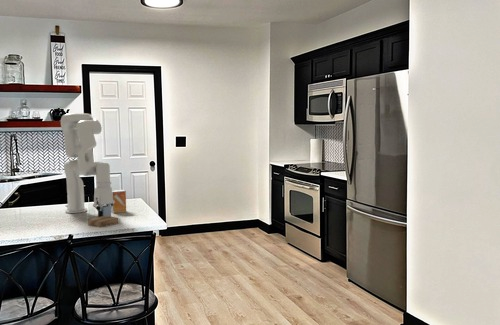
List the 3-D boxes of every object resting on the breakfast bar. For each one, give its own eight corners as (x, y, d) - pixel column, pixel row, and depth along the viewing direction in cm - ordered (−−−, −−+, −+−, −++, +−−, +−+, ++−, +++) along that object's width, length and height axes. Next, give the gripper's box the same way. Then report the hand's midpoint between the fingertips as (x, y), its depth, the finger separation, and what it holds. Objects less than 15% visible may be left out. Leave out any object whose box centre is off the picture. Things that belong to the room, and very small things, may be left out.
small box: (113, 213, 276) (112, 191, 275) (110, 211, 281) (109, 190, 280) (126, 211, 281) (125, 190, 279) (123, 210, 286) (122, 189, 285)
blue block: (98, 218, 262) (97, 206, 261) (105, 217, 266) (104, 205, 265) (104, 219, 259) (103, 207, 258) (111, 218, 263) (110, 205, 263)
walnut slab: (88, 224, 247) (88, 219, 246) (104, 220, 256) (104, 215, 255) (101, 227, 241) (101, 221, 240) (118, 223, 250) (118, 217, 250)
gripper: (110, 182, 270) (112, 213, 272) (86, 186, 256) (87, 218, 257) (119, 183, 266) (120, 214, 267) (95, 187, 252) (96, 220, 253)
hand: (104, 216), depth 262 cm, fingers closed on blue block, 5 cm apart
